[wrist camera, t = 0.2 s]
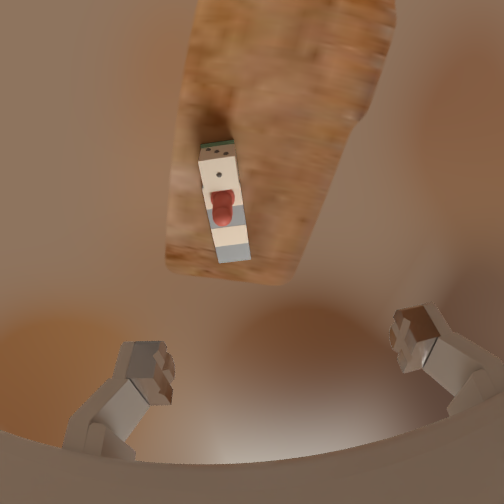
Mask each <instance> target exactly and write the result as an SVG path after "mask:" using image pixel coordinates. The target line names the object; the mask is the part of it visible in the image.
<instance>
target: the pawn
mask: <svg viewBox="0 0 504 504" xmlns="http://www.w3.org/2000/svg"><path fill="white" fill-rule="evenodd" d="M234 201H235V195H234V192H233V191H232V190H231V189H229V190H222V191H215V192H212V193H211V203H212V205H213V208H212V216H213V221H214V223H215V224H216V225H218V226H221V227H223V226H227V225H228V224H229V223H230V222H231V220H232V215H233V208H232V205H233V204H234Z"/></svg>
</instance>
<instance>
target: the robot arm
mask: <svg viewBox="0 0 504 504" xmlns="http://www.w3.org/2000/svg"><path fill="white" fill-rule="evenodd" d="M393 318H394V320H395V322H394V323H393V324H392V325H391V327H390V331H389V337H390V338H389V339H390V343H391V346H392V348H393V350H394V351H396V352H397V353H399V355H398V358H397V360H398V362H399V365H400V367H401V370H402V372H403V373H406V372H410V371H414V370H418V369H422V368H423V370H424V371H425V372H426V373H427V374H429V375H430V376H431V377H432V378H433V379H435V380H436V381H437V382H438V383H439V384H440V385H442V386H443V387H444V388H445V389H446V390H448V391H449V392H450V393H451V394H452V395H453V396H454V397H455V398H454V399H453V400H452V402H451V403H450V404H449V406H448V407H447V411H448V413H449V416H450V417H448V418H445V419H443V420H440V421H437V422H435V423H432V424H429V425H427V426H424V427H421V428H418V429H415V430H413V431H409V432H406V433H403V434H400V435H397V436H394V437H391V438H387V439H383V440H380V441H376V442H372V443H369V444H365V445H361V446H357V447H353V448H348V449H344V450H339V451H334V452H329V453H324V454H318V455H312V456H306V457H299V458H292V459H284V460H276V461H266V462H254V463H241V464H240V463H239V464H207V465H206V464H166V463H153V462H142V461H135V455H136V452H135V451H134V450H133V449H132V448H131V447H130V446H128V445H127V444H126V443H125V440H126V439H127V438H128V436H129V435H130V434H131V432H132V431H133V429H134V428H135V427H136V425H137V424H138V422H139V421H140V420H141V418H142V417H143V415H144V414H145V413H146V411H147V410H148V409H149V407H150V406H149V405H171V403H172V395H173V389H172V387H171V385H170V383H171V382H172V381H173V380H174V377H175V365H174V361H173V358H172V356H171V355H170V354H169V353H167V352H166V350H167V346H166V344H165V342H164V341H136V342H123V344H122V345H121V347H120V351H119V354H118V358H117V362H116V366H115V369H114V373H113V377H112V379H108V380H107V381H106V382H105V383H104V384H103V385H102V386H101V387H100V388H99V389H98V390H97V391H96V392H95V393H94V394H93V395H92V396H91V397H90V398H89V399H88V400H87V401H86V402H85V403H84V404H83V405H82V406H81V407H80V408H79V409H78V410H77V411H76V412H75V413H74V414H73V415H72V416H71V417H70V419H69V422H68V426H67V430H66V434H65V438H64V442H63V446H62V448H58V447H54V446H50V445H46V444H42V443H39V442H35V441H32V440H28V439H25V438H22V437H19V436H16V435H13V434H10V433H7V432H4V431H1V430H0V504H504V364H503V363H502V361H501V359H499V358H498V357H496V356H495V355H493V354H491V353H489V352H488V351H486V350H485V349H483V348H481V347H480V346H478V345H477V344H475V343H473V342H472V341H470V340H468V339H467V338H465V337H463V336H462V335H460V334H458V333H457V332H454V333H453V332H452V331H451V329H450V327H449V326H448V324H447V322H446V321H445V319H444V318H443V316H442V314H441V313H440V311H439V310H438V308H437V306H436V305H435V303H433V302H429V303H425V304H421V305H415V306H411V307H407V308H402V309H398V310H396V311H395V313H394V316H393Z"/></svg>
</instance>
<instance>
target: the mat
mask: <svg viewBox="0 0 504 504" xmlns="http://www.w3.org/2000/svg"><path fill="white" fill-rule="evenodd" d="M227 144H234V140H227V141H220V142H213V143H207V144H201V145H200V146H201V148H207V147H213V146H220V145H227ZM236 159H237V158H236ZM237 166H238V165H237ZM238 173H239V172H238Z"/></svg>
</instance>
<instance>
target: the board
mask: <svg viewBox="0 0 504 504" xmlns="http://www.w3.org/2000/svg"><path fill="white" fill-rule="evenodd" d="M239 187H240V188H237V189H231V190H232V191H233V192H234V195H235V201H234V204H233V205H232V208H233V215H232V220H231V222H230V223H229V224H228V225H227V226H223V227H221V226H218V225H216V224H215V223H214V221H213V216H212V208H213V205H212V203H211V193H212V192H208V193H205V192H204V187H203V186H202V191H203V196H204V200H205V205H206V209H207V213H208V218H209V222H210V227H211V231H212V235H213V240H214V244H215V248H216V252H217V257H218V261H219V263H226V262H234V261H242V260H250V259H251V255H250V248H249V241H248V235H247V228H246V221H245V214H244V207H243V200H242V193H241V186H240V180H239Z"/></svg>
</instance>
